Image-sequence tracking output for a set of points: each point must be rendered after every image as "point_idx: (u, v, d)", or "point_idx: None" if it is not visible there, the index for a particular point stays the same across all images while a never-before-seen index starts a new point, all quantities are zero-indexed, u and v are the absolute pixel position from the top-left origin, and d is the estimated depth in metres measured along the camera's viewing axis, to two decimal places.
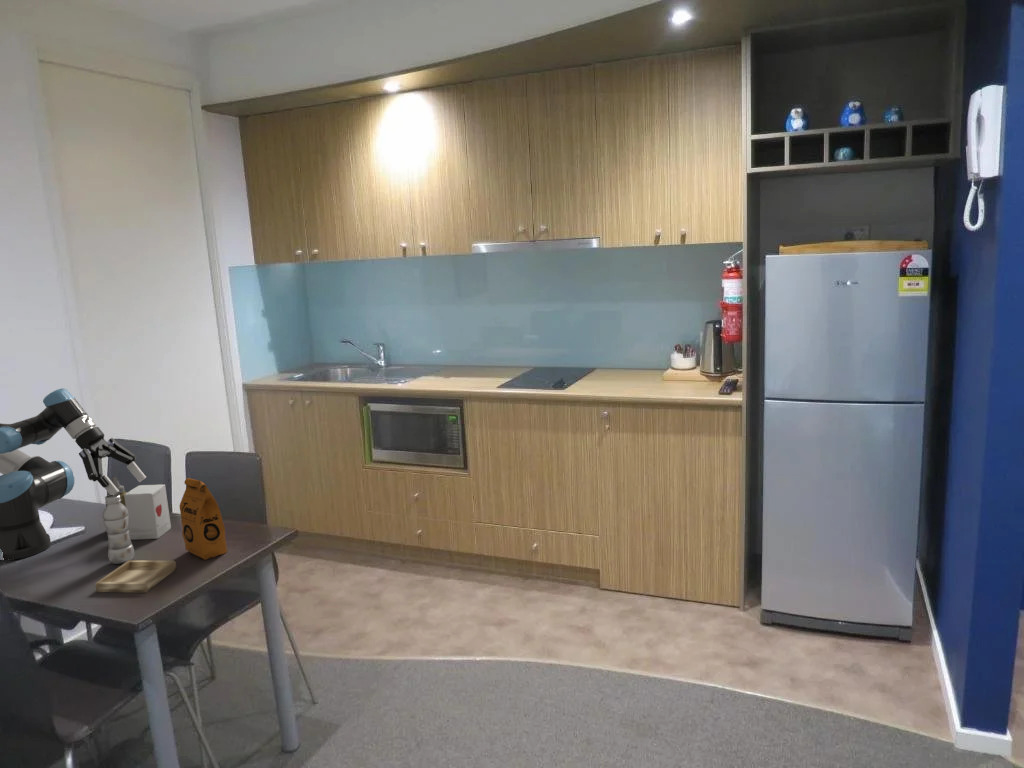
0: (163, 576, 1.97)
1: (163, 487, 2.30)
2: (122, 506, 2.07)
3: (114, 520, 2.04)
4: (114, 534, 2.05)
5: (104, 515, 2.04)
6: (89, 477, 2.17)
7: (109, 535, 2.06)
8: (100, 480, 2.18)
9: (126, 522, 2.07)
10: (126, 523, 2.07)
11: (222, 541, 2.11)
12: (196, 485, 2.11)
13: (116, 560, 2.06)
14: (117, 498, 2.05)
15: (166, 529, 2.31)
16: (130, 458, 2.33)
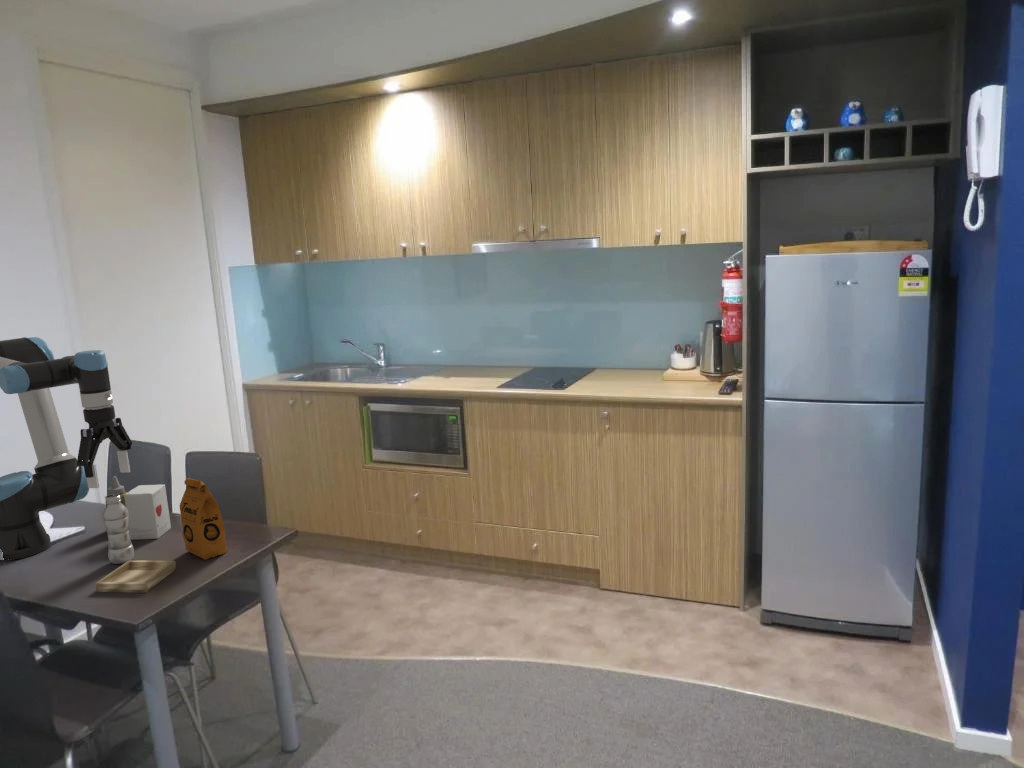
0: (163, 576, 1.97)
1: (163, 487, 2.30)
2: (122, 506, 2.07)
3: (114, 520, 2.04)
4: (114, 534, 2.05)
5: (104, 515, 2.04)
6: (78, 462, 1.94)
7: (109, 535, 2.06)
8: (87, 469, 1.96)
9: (126, 522, 2.07)
10: (126, 523, 2.07)
11: (222, 541, 2.11)
12: (196, 485, 2.11)
13: (116, 560, 2.06)
14: (117, 498, 2.05)
15: (166, 529, 2.31)
16: (125, 446, 2.10)
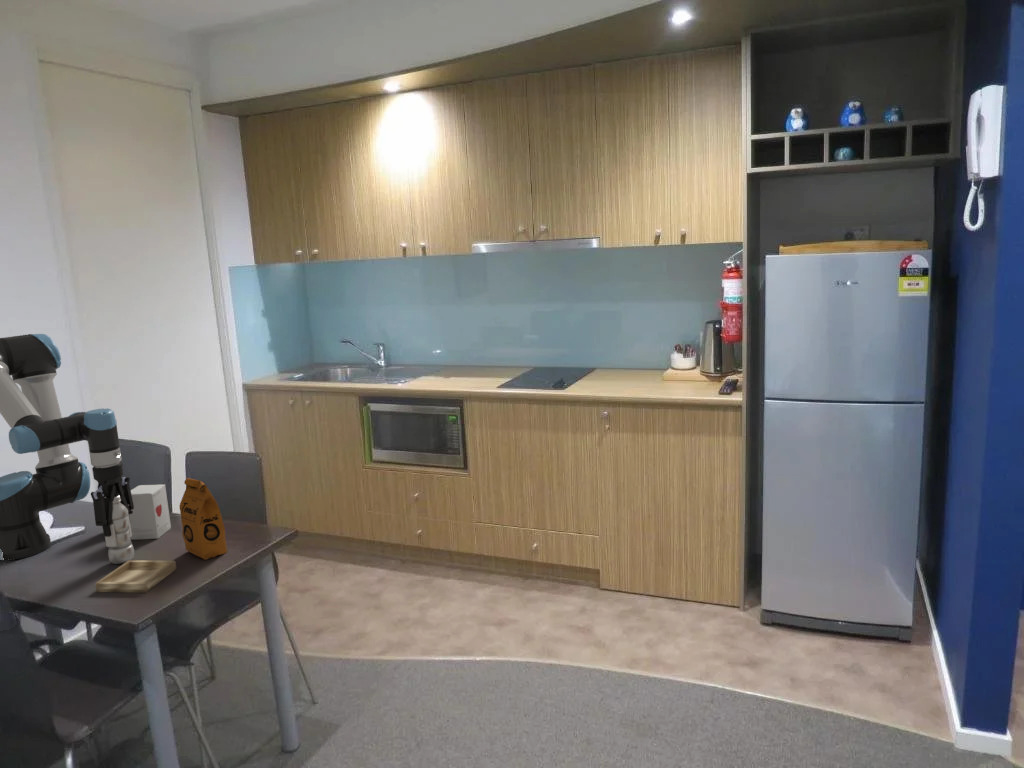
0: (163, 576, 1.97)
1: (163, 487, 2.30)
2: (122, 506, 2.07)
3: (114, 520, 2.04)
4: None
5: None
6: (97, 523, 2.01)
7: None
8: (105, 529, 2.03)
9: (126, 522, 2.07)
10: (126, 523, 2.07)
11: (222, 541, 2.11)
12: (196, 485, 2.11)
13: (116, 560, 2.06)
14: (117, 498, 2.05)
15: (166, 529, 2.31)
16: None
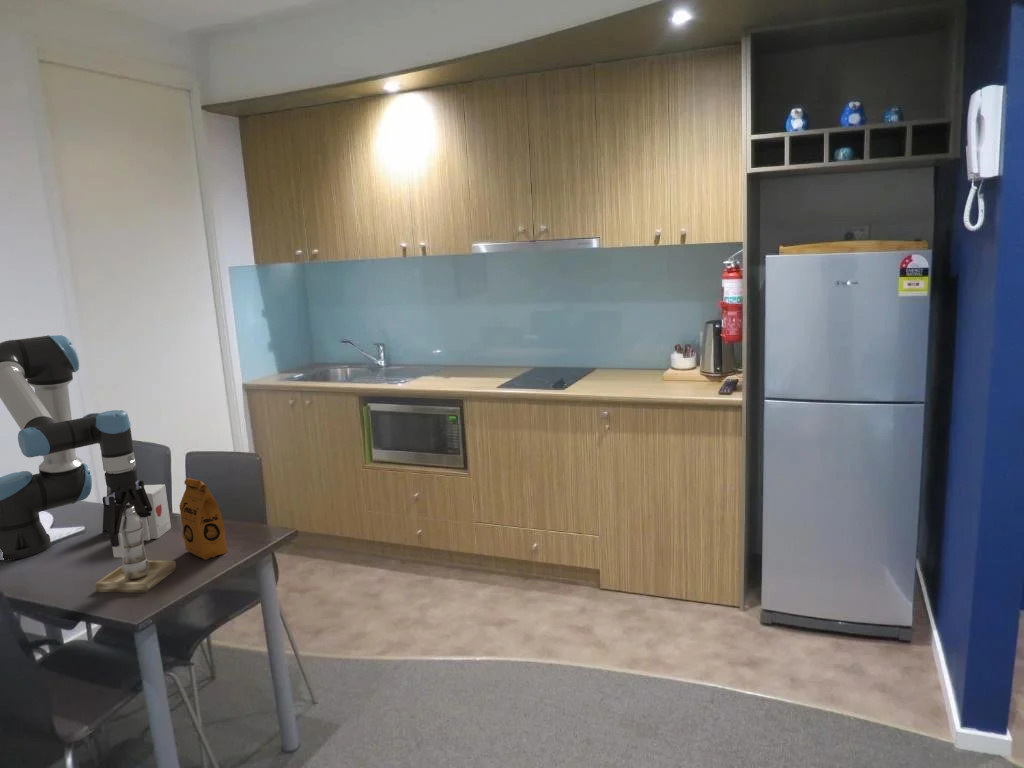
0: (163, 576, 1.97)
1: (163, 487, 2.30)
2: (137, 518, 1.94)
3: (129, 533, 1.92)
4: (128, 548, 1.93)
5: None
6: (104, 532, 1.86)
7: None
8: (113, 538, 1.88)
9: (141, 535, 1.95)
10: (141, 536, 1.95)
11: (222, 541, 2.11)
12: (196, 485, 2.11)
13: (131, 575, 1.94)
14: (131, 509, 1.93)
15: (166, 529, 2.31)
16: (145, 512, 2.00)
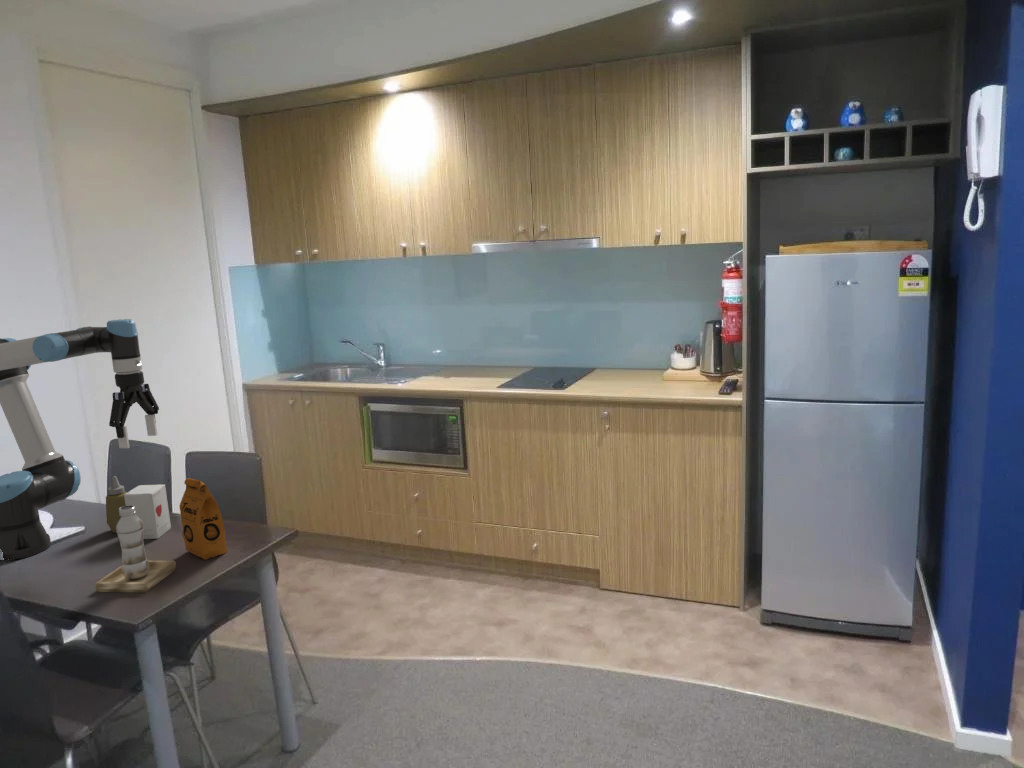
0: (163, 576, 1.97)
1: (163, 487, 2.30)
2: (137, 518, 1.94)
3: (129, 533, 1.92)
4: (128, 548, 1.93)
5: (118, 528, 1.92)
6: (110, 423, 2.07)
7: (123, 549, 1.93)
8: (118, 430, 2.09)
9: (141, 535, 1.95)
10: (141, 536, 1.95)
11: (222, 541, 2.11)
12: (196, 485, 2.11)
13: (131, 575, 1.94)
14: (132, 510, 1.93)
15: (166, 529, 2.31)
16: (153, 410, 2.23)
